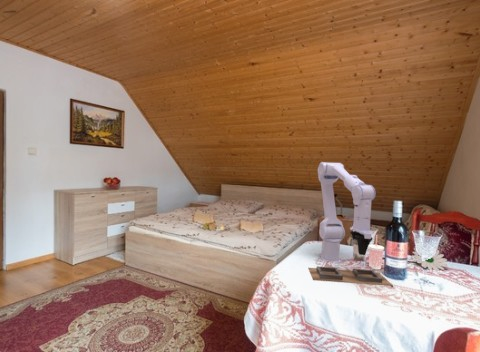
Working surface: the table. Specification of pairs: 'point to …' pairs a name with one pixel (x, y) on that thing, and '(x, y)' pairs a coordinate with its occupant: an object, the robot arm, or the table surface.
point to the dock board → (348, 276)
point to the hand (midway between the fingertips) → (360, 252)
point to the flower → (431, 261)
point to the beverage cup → (375, 255)
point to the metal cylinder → (356, 253)
